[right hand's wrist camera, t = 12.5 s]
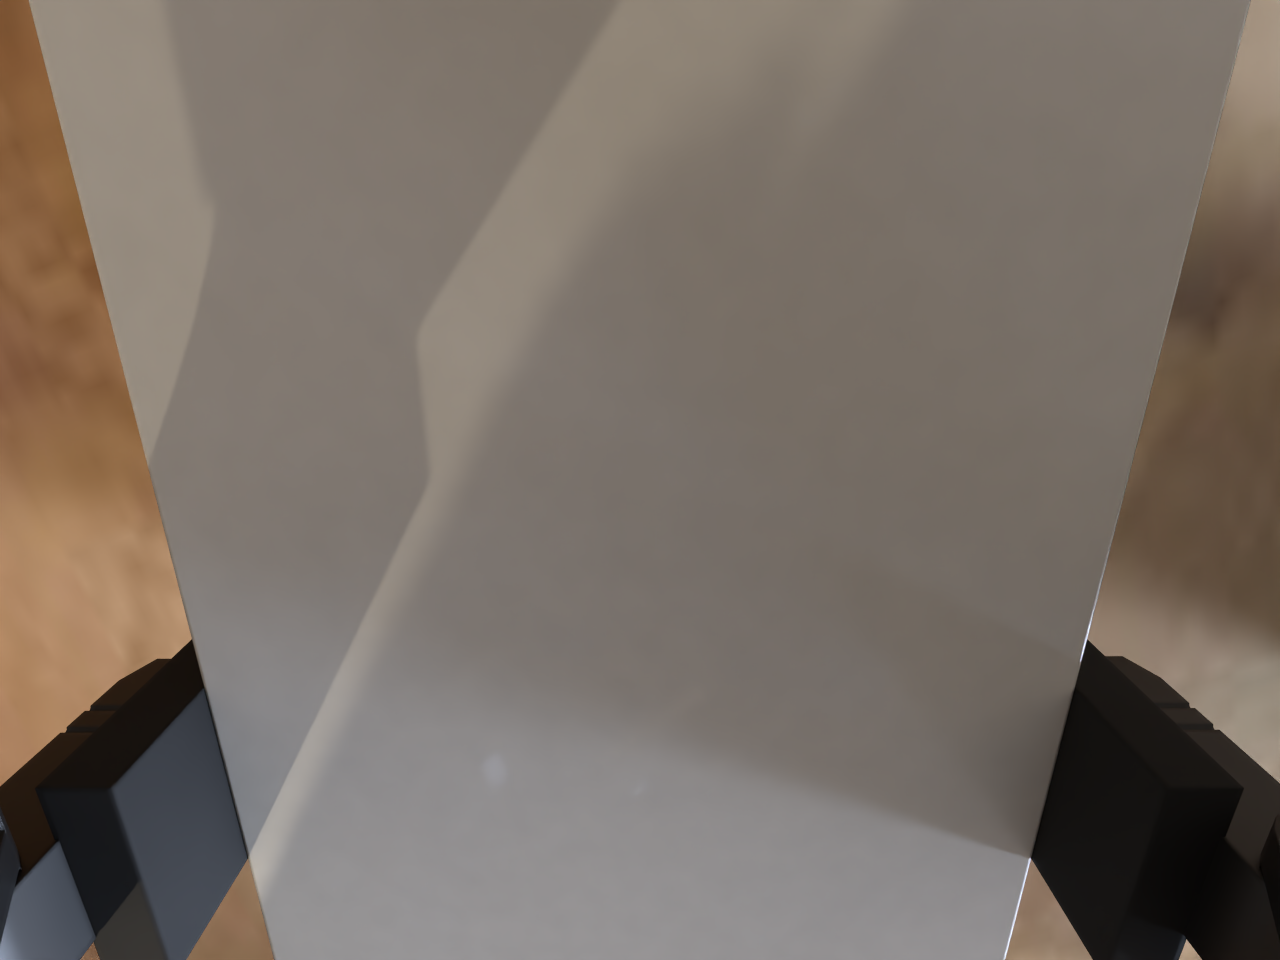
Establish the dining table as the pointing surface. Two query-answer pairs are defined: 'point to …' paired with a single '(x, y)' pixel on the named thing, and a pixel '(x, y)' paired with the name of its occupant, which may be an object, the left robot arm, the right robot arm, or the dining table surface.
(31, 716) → the dining table surface
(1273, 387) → the dining table surface
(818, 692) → the cabinet
